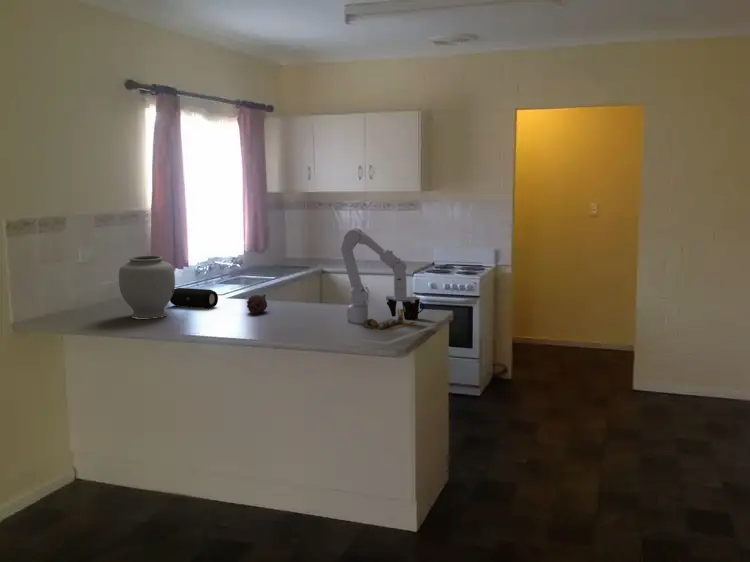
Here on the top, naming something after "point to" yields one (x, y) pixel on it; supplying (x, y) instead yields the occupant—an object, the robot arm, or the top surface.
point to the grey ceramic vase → (147, 285)
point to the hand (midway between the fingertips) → (400, 317)
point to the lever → (388, 324)
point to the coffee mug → (413, 309)
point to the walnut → (373, 323)
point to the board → (392, 328)
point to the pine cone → (257, 304)
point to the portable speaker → (194, 298)
